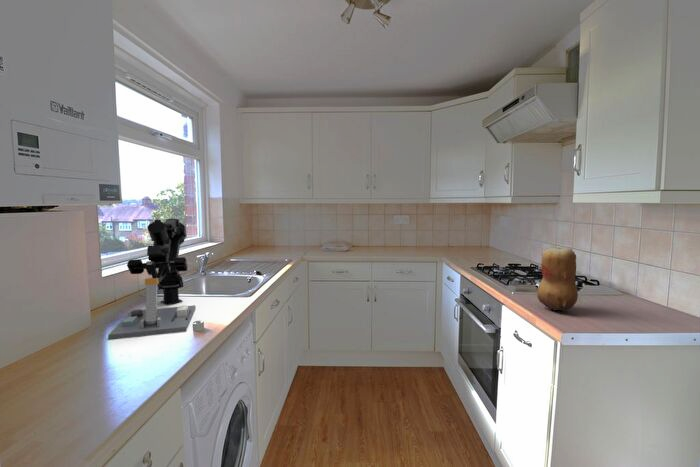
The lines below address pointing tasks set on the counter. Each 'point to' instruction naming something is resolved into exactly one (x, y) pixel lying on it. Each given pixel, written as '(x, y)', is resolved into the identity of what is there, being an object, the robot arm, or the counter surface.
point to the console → (165, 324)
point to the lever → (151, 301)
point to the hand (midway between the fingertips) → (155, 285)
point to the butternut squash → (558, 279)
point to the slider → (182, 312)
